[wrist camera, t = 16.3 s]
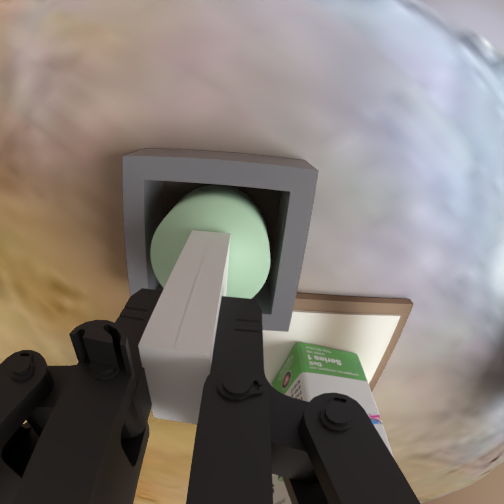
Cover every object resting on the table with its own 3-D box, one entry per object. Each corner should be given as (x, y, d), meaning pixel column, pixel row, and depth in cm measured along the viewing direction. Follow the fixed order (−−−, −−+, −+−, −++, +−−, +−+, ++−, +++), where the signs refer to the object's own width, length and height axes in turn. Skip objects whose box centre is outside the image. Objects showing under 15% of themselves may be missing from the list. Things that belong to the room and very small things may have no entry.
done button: (168, 273, 16) (153, 304, 13) (168, 181, 14) (148, 197, 11) (261, 282, 16) (262, 315, 13) (273, 190, 14) (278, 208, 11)
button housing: (148, 286, 17) (132, 315, 15) (146, 148, 14) (122, 155, 11) (283, 299, 18) (288, 331, 15) (305, 160, 14) (318, 170, 12)
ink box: (295, 338, 18) (323, 528, 7) (361, 353, 19) (414, 512, 8) (248, 412, 21) (247, 552, 11) (304, 421, 22) (320, 550, 11)
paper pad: (216, 427, 24) (216, 434, 23) (223, 286, 17) (222, 294, 17) (345, 428, 24) (347, 434, 23) (409, 299, 18) (414, 305, 17)
